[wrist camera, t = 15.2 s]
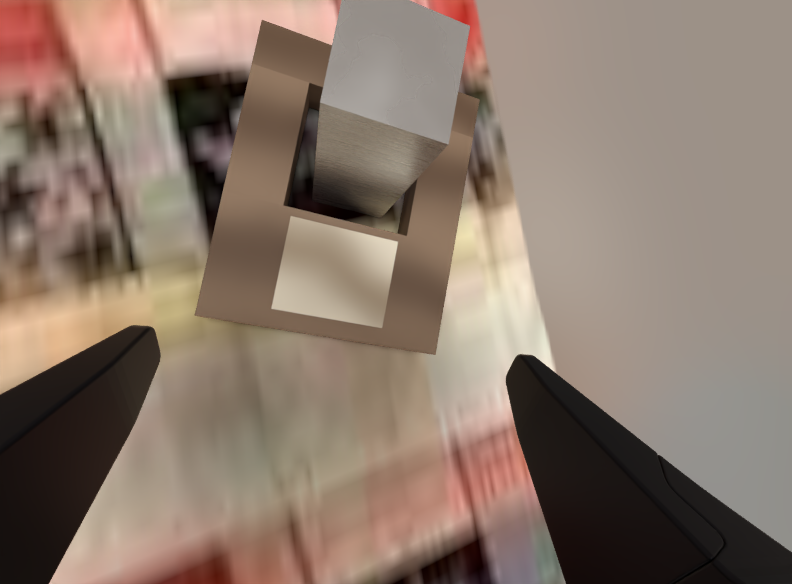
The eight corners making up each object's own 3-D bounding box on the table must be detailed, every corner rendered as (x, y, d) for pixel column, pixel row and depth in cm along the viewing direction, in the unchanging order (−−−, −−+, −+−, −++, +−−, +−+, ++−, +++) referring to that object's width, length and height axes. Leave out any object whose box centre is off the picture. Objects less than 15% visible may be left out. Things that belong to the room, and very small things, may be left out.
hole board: (421, 349, 23) (436, 355, 20) (207, 314, 20) (193, 315, 17) (462, 119, 24) (481, 97, 22) (266, 52, 21) (261, 16, 19)
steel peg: (380, 218, 23) (448, 144, 12) (311, 200, 22) (319, 102, 11) (393, 153, 23) (470, 26, 12) (326, 132, 22) (347, -26, 11)
